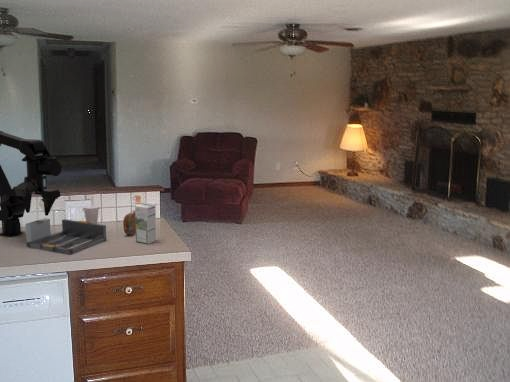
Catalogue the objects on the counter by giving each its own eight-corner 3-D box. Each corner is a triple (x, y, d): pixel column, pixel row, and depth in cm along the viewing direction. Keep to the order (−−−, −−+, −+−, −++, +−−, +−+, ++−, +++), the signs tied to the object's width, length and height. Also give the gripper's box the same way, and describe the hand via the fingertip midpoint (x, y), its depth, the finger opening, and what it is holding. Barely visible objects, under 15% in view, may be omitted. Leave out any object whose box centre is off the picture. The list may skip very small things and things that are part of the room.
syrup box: (156, 240, 212) (156, 204, 209) (147, 244, 207) (147, 207, 204) (144, 238, 214) (143, 202, 211) (135, 242, 209) (134, 205, 206)
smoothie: (97, 231, 222) (96, 198, 219) (81, 231, 222) (80, 197, 219) (102, 227, 228) (101, 194, 225) (86, 227, 228) (85, 194, 225)
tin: (129, 237, 216) (129, 216, 214) (122, 236, 216) (121, 215, 215) (144, 227, 230) (144, 208, 228) (137, 227, 231) (137, 207, 229)
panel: (26, 241, 206) (25, 223, 205) (45, 235, 215) (44, 218, 214) (31, 242, 205) (30, 224, 204) (50, 236, 214) (49, 218, 213)
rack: (26, 246, 200) (25, 230, 199) (65, 233, 218) (64, 218, 217) (70, 254, 192) (69, 237, 191) (106, 240, 210) (105, 224, 209)
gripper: (-1, 174, 202) (1, 215, 205) (38, 179, 195) (40, 221, 198) (22, 170, 212) (24, 209, 215) (60, 174, 205) (62, 215, 208)
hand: (37, 214), depth 208 cm, fingers open, 9 cm apart
